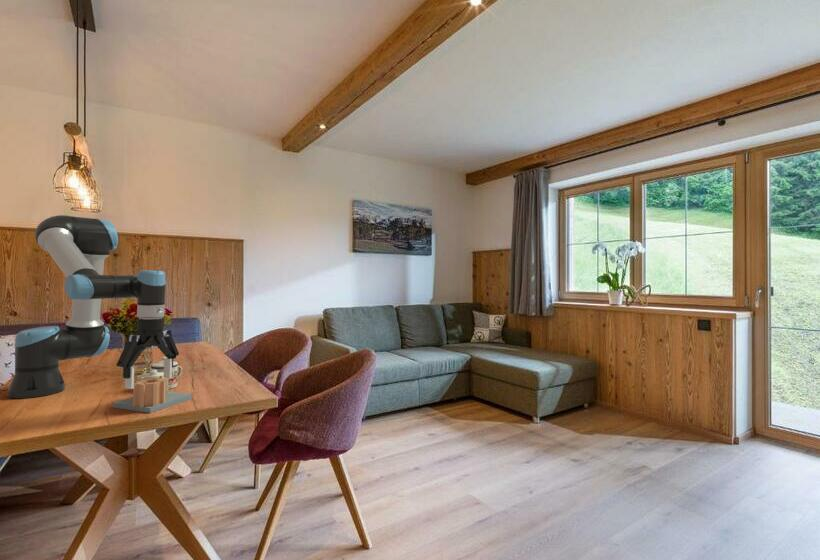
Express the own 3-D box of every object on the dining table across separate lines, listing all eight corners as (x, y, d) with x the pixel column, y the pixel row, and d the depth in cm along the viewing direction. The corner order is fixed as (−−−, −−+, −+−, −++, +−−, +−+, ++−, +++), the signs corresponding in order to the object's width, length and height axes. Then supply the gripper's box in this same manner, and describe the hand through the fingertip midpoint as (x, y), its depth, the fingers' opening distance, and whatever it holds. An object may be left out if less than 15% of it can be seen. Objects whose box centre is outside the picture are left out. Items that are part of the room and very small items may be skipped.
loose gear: (126, 405, 128) (126, 383, 128) (151, 397, 136) (151, 377, 136) (147, 408, 125) (147, 385, 125) (171, 400, 134) (172, 379, 134)
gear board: (111, 407, 130) (111, 376, 130) (155, 393, 145) (156, 366, 145) (150, 413, 125) (150, 381, 125) (192, 398, 141) (192, 370, 141)
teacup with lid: (162, 391, 148) (162, 360, 148) (144, 389, 151) (144, 358, 151) (189, 384, 160) (190, 354, 159) (172, 381, 163) (173, 352, 162)
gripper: (121, 322, 117) (120, 394, 118) (191, 315, 141) (189, 375, 142) (103, 320, 120) (101, 391, 120) (174, 313, 144) (173, 372, 144)
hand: (149, 382), depth 131 cm, fingers open, 13 cm apart
